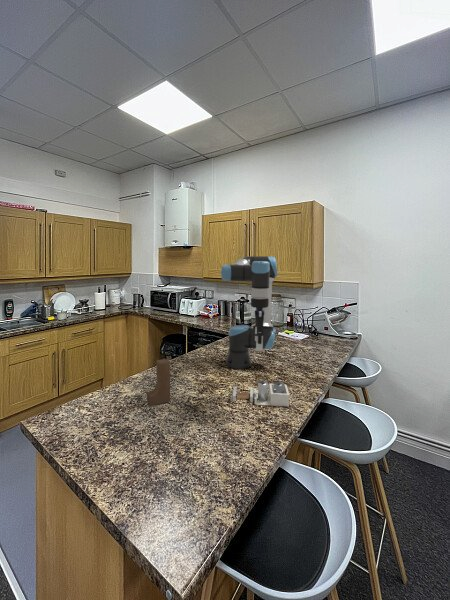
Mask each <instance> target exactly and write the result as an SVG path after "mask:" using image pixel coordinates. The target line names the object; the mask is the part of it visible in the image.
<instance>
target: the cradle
mask: <svg viewBox="0 0 450 600" xmlns="http://www.w3.org/2000/svg"><path fill="white" fill-rule="evenodd" d="M249 388H250V389H249V391H250V392H249V403H254V388H253V387H249ZM237 389H238V387H237V386H233V391H232V402H236V400H237Z"/></svg>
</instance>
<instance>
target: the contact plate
mask: <svg viewBox="0 0 450 600" xmlns="http://www.w3.org/2000/svg"><path fill="white" fill-rule="evenodd" d="M236 399H243V400H250V392H240V391H238V392H236Z"/></svg>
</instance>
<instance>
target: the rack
mask: <svg viewBox="0 0 450 600" xmlns="http://www.w3.org/2000/svg"><path fill="white" fill-rule="evenodd" d="M253 400H254V405H259V406H275V407H290V392H289V389H288V386H287V384H285V383H284V394H282V393H274V383H269V384H268V400H267V401H265V402H262V401H259V400H258V392H257V388H254V389H253Z"/></svg>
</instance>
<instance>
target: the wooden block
mask: <svg viewBox="0 0 450 600" xmlns="http://www.w3.org/2000/svg"><path fill="white" fill-rule="evenodd" d="M170 364H171V363H170V361H169V360H168V359H167V358H163V359H157V360H156V385H155V387H154V388H153V389H152V390H150V391H148V392H146V403H147V405H148V406H149V407H153V406H157V405H161V404H166V403H169V402H171V375H170V374H171V371H170V370H171V365H170Z"/></svg>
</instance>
